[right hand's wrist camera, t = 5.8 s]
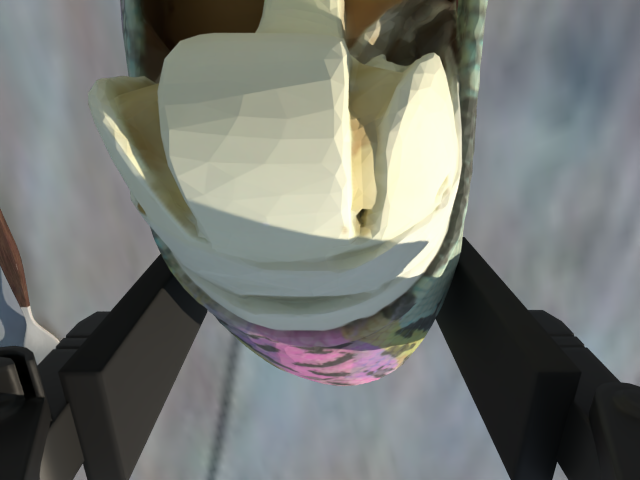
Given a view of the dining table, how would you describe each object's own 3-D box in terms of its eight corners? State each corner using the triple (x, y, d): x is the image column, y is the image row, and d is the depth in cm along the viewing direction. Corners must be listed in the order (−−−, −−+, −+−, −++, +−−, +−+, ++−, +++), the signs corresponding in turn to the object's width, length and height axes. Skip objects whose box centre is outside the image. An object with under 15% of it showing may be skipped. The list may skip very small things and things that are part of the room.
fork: (7, 156, 24) (-20, 164, 22) (76, 389, 29) (60, 410, 28) (-40, 158, 24) (-71, 165, 22) (38, 390, 29) (20, 411, 28)
